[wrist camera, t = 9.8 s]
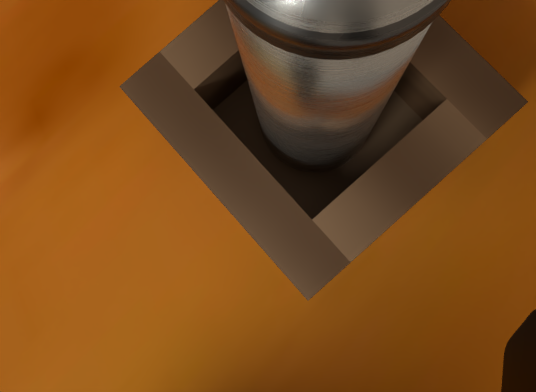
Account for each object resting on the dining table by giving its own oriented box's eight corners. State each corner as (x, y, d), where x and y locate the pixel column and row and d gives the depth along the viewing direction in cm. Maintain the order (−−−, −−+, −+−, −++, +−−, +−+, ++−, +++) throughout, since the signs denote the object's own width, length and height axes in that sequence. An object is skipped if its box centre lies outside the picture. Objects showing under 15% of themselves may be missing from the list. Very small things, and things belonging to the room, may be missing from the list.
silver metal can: (295, 196, 20) (290, 85, 7) (237, 101, 21) (139, -156, 8) (394, 137, 20) (562, -77, 7) (333, 44, 21) (390, -303, 8)
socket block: (306, 292, 21) (307, 300, 17) (151, 117, 22) (119, 86, 18) (484, 131, 21) (528, 101, 17) (322, -32, 22) (327, -94, 18)
